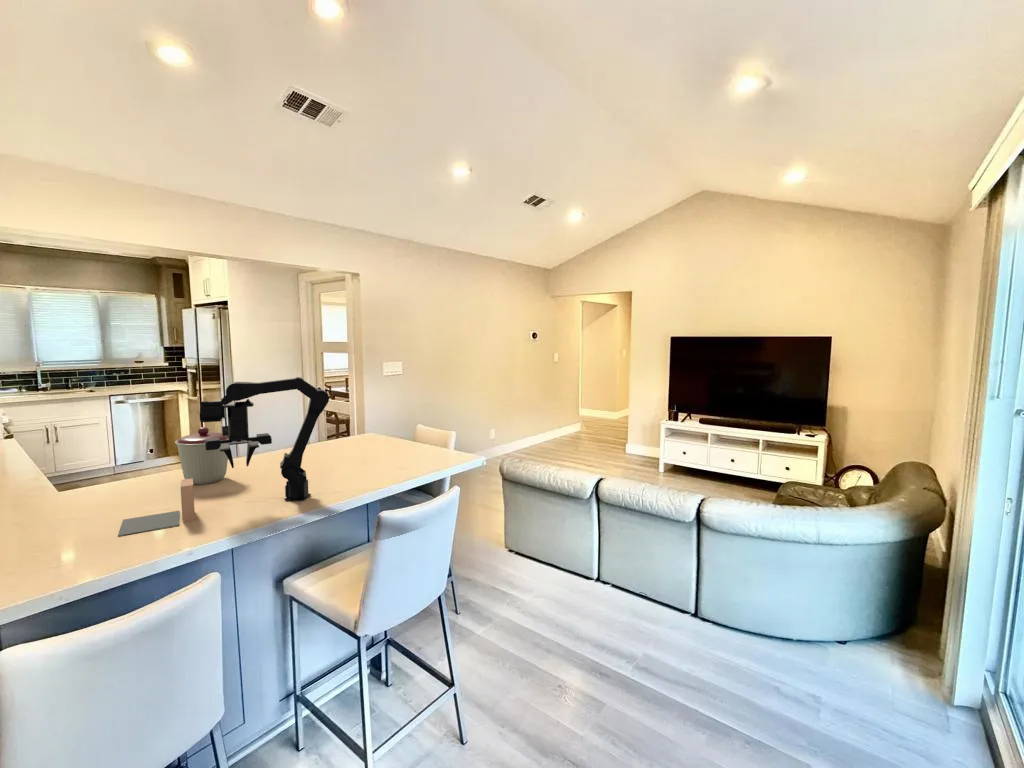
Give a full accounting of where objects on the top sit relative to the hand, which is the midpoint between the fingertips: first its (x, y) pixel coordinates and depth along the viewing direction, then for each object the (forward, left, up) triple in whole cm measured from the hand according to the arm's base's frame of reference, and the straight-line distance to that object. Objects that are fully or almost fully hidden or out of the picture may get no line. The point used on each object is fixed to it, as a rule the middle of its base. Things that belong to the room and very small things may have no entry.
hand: (240, 466), depth 156 cm
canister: (+30, -25, -13) cm, 41 cm away
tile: (+10, +11, -13) cm, 20 cm away
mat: (+18, +17, -13) cm, 28 cm away
